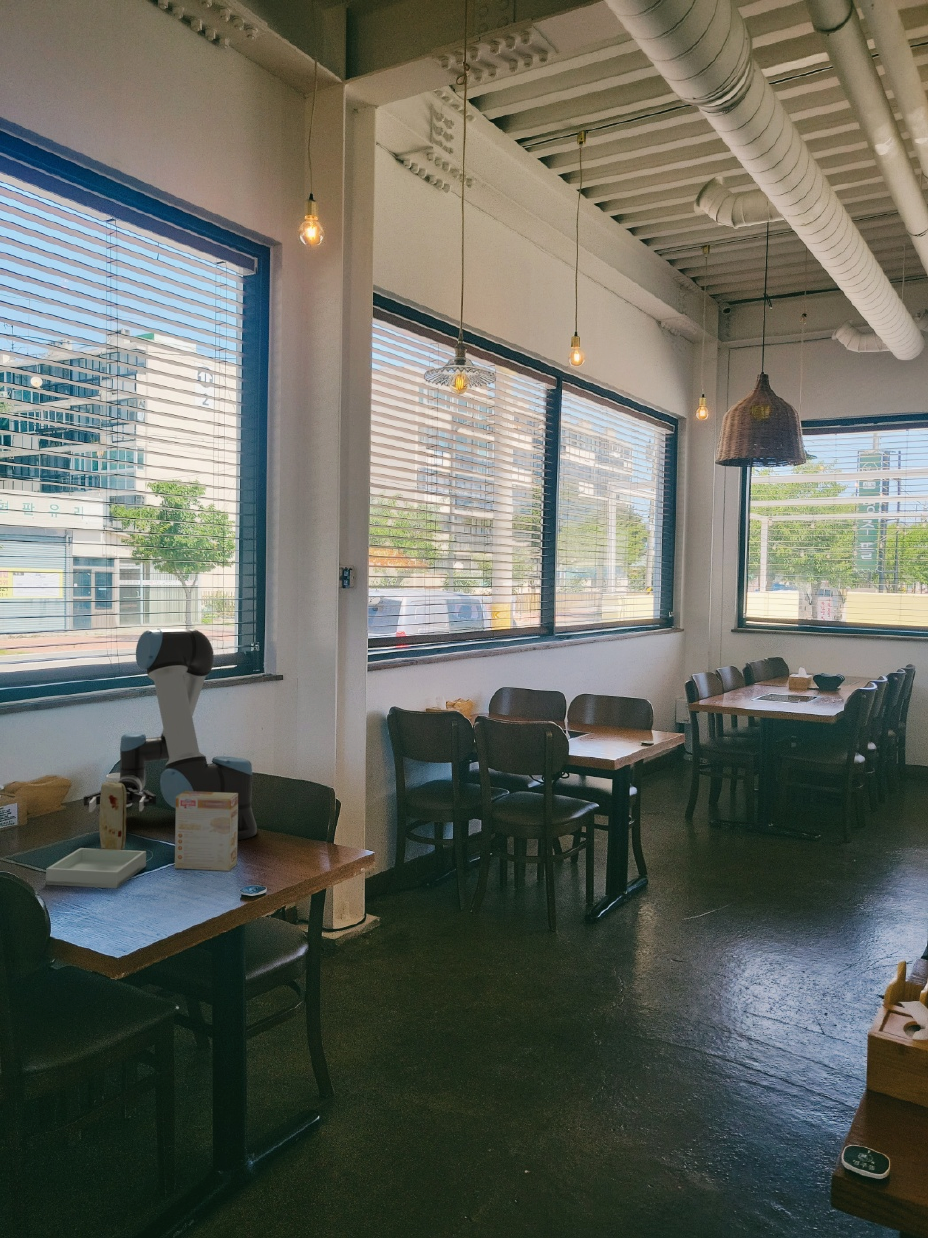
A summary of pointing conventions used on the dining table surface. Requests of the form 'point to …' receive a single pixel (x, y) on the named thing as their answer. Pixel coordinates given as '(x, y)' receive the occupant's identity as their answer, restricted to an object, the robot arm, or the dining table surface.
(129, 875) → the bin
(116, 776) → the mug
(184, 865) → the coffeecake box
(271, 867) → the dining table surface
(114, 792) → the food model
